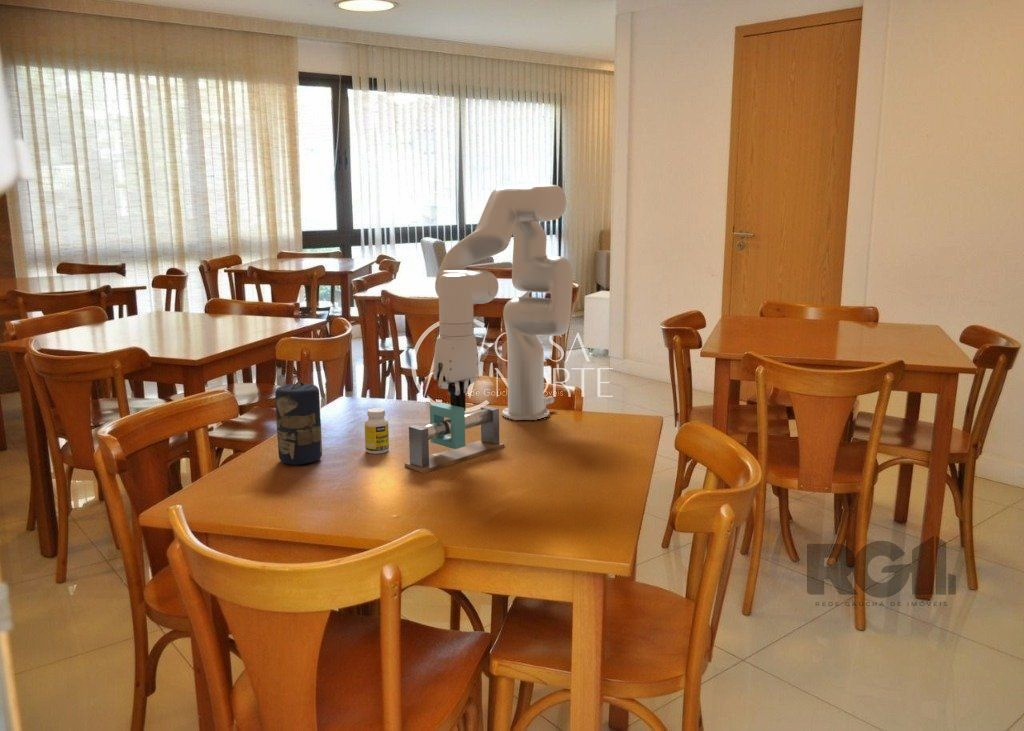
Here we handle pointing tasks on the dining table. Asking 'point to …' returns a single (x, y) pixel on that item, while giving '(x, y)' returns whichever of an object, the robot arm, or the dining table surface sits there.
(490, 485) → the dining table surface
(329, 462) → the dining table surface
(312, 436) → the canister
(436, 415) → the teal rectangular frame
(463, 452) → the base board
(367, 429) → the supplement bottle
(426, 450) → the rail
